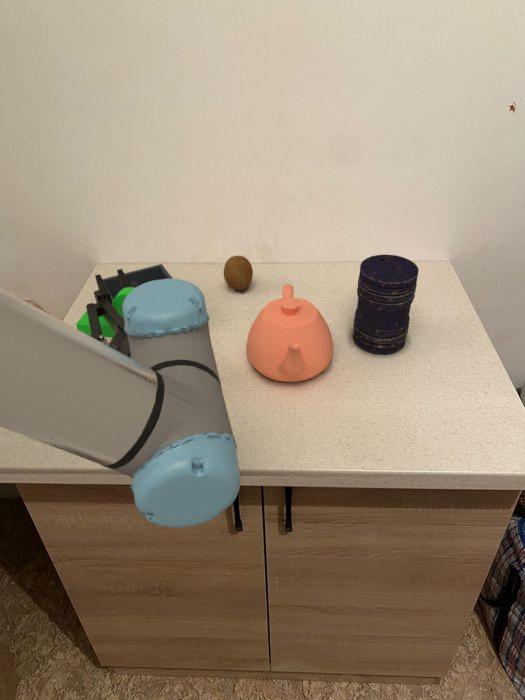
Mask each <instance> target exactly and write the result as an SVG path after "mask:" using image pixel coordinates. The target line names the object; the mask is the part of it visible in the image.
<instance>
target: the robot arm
mask: <svg viewBox="0 0 525 700" xmlns="http://www.w3.org/2000/svg"><path fill="white" fill-rule="evenodd" d="M124 273H125V272H124V270H123V269H122V268H120V269H116V274H117V275H118V277H119V282H120V285H121V287H122V289H124V288H127V287H134V288H135V289H133V290H132V291H131V292H130V293H129V294H128V295H127V296H126V298H125V299H124V302H123V305H122V311H123V316H124V317H122V316H121V315H120V314H119V313H118V311H117V310H116V309H115V308H114V307H113V306H112V300H111V296H110V293H109V291H108V289H107V287H106V285H105V283H104V281H103V279H104V278H103V277H102V275H101V274H95V275H94V277H95V281H96V285H97V288H98V289H97V290H94V291H93V295H94V298H95V302H96V303H94V302H89V303H87V304H86V305H85V307H86V311H87V314H88V319H89V324H90V329H91V335H90V336H89V335H87V334H85V333H83V332H82V331H80V330H78V329H77V327H74V326H73V325H70V324H69V323H67V322H65V321H63V320H61V319H59V318H58V317H55V316H54V315H51V314H50V313H48V312H47V311H44V310H43V309H41V308H39V307H37V306H35V305H33V304H31V303H30V302H28V301H26V300H24V299H22V298H20V297H18V296H16V295H15V294H13V293H11V292H9V291H7V290H6V289H4V288H1V287H0V428H2V429H5V430H8V431H10V432H13V433H15V434H18V435H21V436H24V437H26V438H29V439H32V440H34V441H36V442H40V443H42V444H45V445H47V446H50V447H53V448H55V449H58V450H61V451H63V452H66V453H69V454H72V455H75V456H78V457H80V458H82V459H85V460H88V461H91V462H93V463H96V464H98V465H100V466H102V467H105V468H106V469H107V468H108V469H110V470H112V471H114V472H117V473H119V474H122V475H124V476H128V477H130V478H131V482H130V489H131V490H132V493H133V500H134V504H135V507H136V508H137V510H138V511H139V512H140V513H141V514H142V515H143V516H144V517H145V519H146V520H147V521H149V522H150V523H152V524H155V525H157V526H162V527H164V528H165V527H166V528H175V529H181V528H189V527H194V526H198V525H199V526H200V525H202V524H205V523H207V522H210V521H212V520H213V519H215V518H217V517H219V516H220V515H221V514H222V513H223V511H226V510H227V509H228V508H229V507H230V506H231V505H233V503H234V502H235V500H236V499H237V497H238V495H239V492H240V489H241V473H240V467H239V466H240V465H239V458H238V444H237V440H236V438H235V435H234V432H233V428H232V424H231V421H230V417H229V414H228V409H227V404H226V401H225V397H224V393H223V388H222V383H221V379H220V375H219V369H218V367H217V361H216V358H215V353H214V350H213V349H214V348H213V345H212V339H211V334H210V323H209V322H210V315H209V313H208V312H207V303H206V299H205V295H204V293H203V291H202V290H201V289H200V288H199V287H198V286H197V285H195V283H193V282H190V281H187V280H184V279H179V278H173V279H161V280H153V281H150V282H146V283H144V284H142V285H140V286H139V285H138V283H137V282H136V281H131V282H129V280H128V279H127V277H126V275H125V274H124ZM100 316H103V317H104V318H105V320H106V321H107V322H108V323H109V325H110V326H111V327H112V328H113V330H114V331H115V332H116V334H115V335H114V337H113V338H111V340H110V342H109V341H108V338H107V337H103V335H102V331H101V326H100V321H99V317H100Z"/></svg>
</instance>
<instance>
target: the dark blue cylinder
mask: <svg viewBox="0 0 525 700" xmlns="http://www.w3.org/2000/svg"><path fill="white" fill-rule="evenodd" d="M419 270H420V269H419V267H418V266H417V264H416V263H415V262H414V261H412V260H410V259H409V258H406V257H403V256H400V255H395V254H376V255H372V256H369V257H367V258H364V259H363V260H362V261H361V263H360V265H359V274H358V278H357V288H356V293H357V305H356V309H355V311H354V318H353V323H352V324H353V325H352V327H353V329H352V330H353V332H352V342H353V343H354V345H355V346H356V347H357V348H358V349H360V350H361V351H364V352H365V353H368V354H372V355H377V356H389V355H394V354H397V353H398V352H400V351H401V350H403V348H404V347H405V346H406V341H407V340H406V338H407V335H408V333H409V328H410V319H411V318H410V317H411V316H410V312H411V308H412V304H413V302H414V299H415V297H416V291H417V285H418V284H417V283H418V276H419Z"/></svg>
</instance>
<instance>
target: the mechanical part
mask: <svg viewBox="0 0 525 700" xmlns="http://www.w3.org/2000/svg"><path fill="white" fill-rule="evenodd" d="M133 289H135V288H134V287H127V288H124V289H122V290H121V291H120V292H119V293H118V294H117V296H116V297H115V298H114V300H113V301H112V306H113V307H114V308H115V309H116V310H117V311H118V313H119V314H120V315H121V316H122V317H124V316H123V311H122V305H123V302H124V299H125V298H126V296H127V295H128V294H129V293H130V292H131V291H132V290H133ZM99 321H100V326H101V331H102V335H103V337H104V338H109V339H112V338H113V337H114V335H115V334H116V332H115V331H114V330H113V328H112V327H111V326H110V325H109V323H108V322H107V321H106V320H105V318H104V317H103V316H100V317H99ZM75 326H76V329H78V330H80V331H82V332H83V333H85V334H87V335H89V336H90V335H91V329H90V324H89V319H88V314H87V310H86V311H85V312H84V313H83V315H82V316H81V317H80V318H79V319H78V321H77V322H76V323H75Z"/></svg>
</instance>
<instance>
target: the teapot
mask: <svg viewBox="0 0 525 700" xmlns="http://www.w3.org/2000/svg"><path fill="white" fill-rule="evenodd" d="M281 296H282V297H281V298H277V299H273V300H271V301H269V302H268V303H267V304H265V306H263V307H262V308H261V310H260V312H259V313H258V314H257V316H256V318H255V319H254V320H253V322H252V324H251V326H250V329H249V331H248V335H247V339H246V357H247V359H248V360H249V361H248V362H250V365H251V366H252V367H253V368H254V369H255V370H256V371H257V372H258V373H260V374H261V375H262V376H264V377H266V378H268V379H271V380H274V381H278V382H283V383H284V382H286V383H294V382H295V383H296V382H302V381H307V380H309V379H312V378H314V377H316V376H317V375H319V374H321V372H323V371H325V369H327V367H328V366H329V364H330V363H331V360H332V358H333V355H334V341H333V337H332V336H333V335H332V332H331V329H330V328H329V325H328V323H327V321H326V320H325V318H324V316H323V315H322V314H321V312H320V310H319V309H318V308H317V307H316V305H314V304H313V303H312V302H310V301H309V300H307V299H304V298H300V297H294V287H293V285H292V284H290V283H285V284H284V285H283V287H282V295H281Z"/></svg>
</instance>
